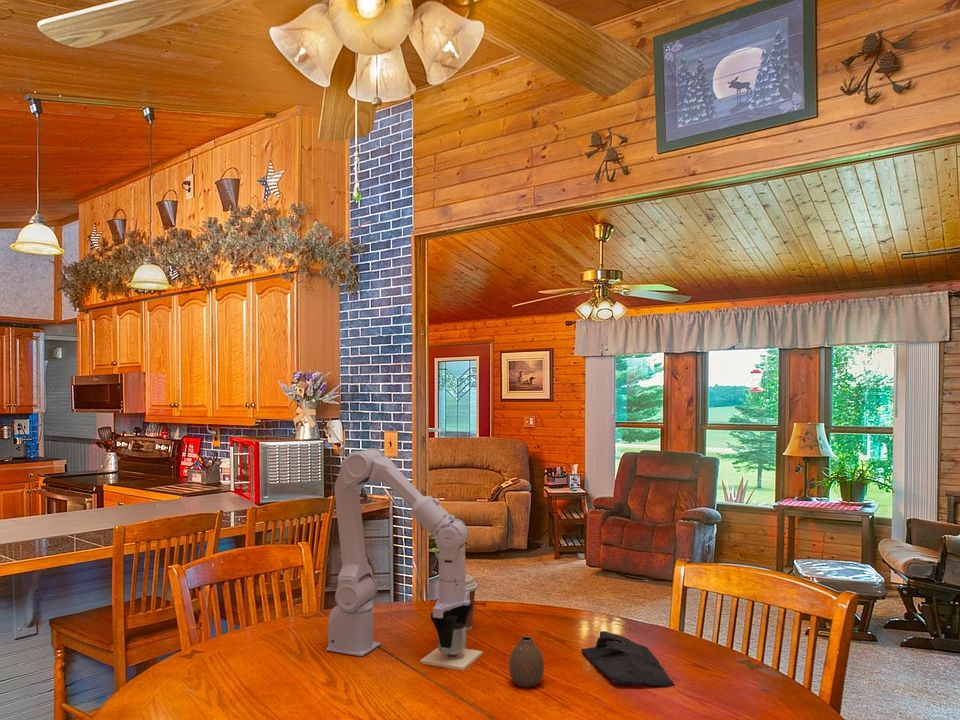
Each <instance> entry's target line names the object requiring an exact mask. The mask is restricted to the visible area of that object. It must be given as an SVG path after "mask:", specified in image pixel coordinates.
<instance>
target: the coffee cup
mask: <svg viewBox="0 0 960 720" xmlns="http://www.w3.org/2000/svg"><path fill="white" fill-rule="evenodd" d="M474 579H475V578H474V576H472V575H470V574H466V573H465V590H466V591H470V603H471V604H472V605H473V607H472V609H471V611H470V613H469V616H468V618H467V622H466V632H469V631H471V630H472V629H473V621H474V607H475V596H476V591H477V590H478V587H479V584H478V582H476V581H475V580H474Z"/></svg>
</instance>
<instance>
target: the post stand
mask: <svg viewBox="0 0 960 720" xmlns="http://www.w3.org/2000/svg"><path fill="white" fill-rule="evenodd" d="M482 655H483V651H482V650H476V649H469V648H466V650H465V651H464V652H463V653H459V654H445V653H441V652H440V651H439V650H438V647H437V648H435V649H434V650H432V651H431V652H429V653H428V654H427V655H425V656H424V657H423V658H421V659H420V662H419V663H420V664H421V663H422V664H421V665H430V666H434V667H440V668H447V669H452V670H458V671H464V670H466V669H467V668H469V666H471V665H472V664H473V663H474V662H475V661H476V660H477V659H478V658H480V657H481V656H482Z"/></svg>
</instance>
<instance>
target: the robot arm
mask: <svg viewBox="0 0 960 720" xmlns="http://www.w3.org/2000/svg"><path fill="white" fill-rule="evenodd" d="M369 482H373V483H380V484H381V483H382V484H385V485H386V486H387V487H389V488H390V489H391V490H392V491H393V492H394V493H395V494H397V495H398V496H399V497H400V498H401V499H402V500H403V501H405V502H406V503H407V505H409V506H410V507H411V513H412V517H413V518H414V519H415V520H416V521H417V522H419V524H421V525H422V527H424V528H425V530H427V531H428V532H429V533H430V535H432V537H434V541H435V542H434V543H435V544H436V546H437V548H438V550H439V551H438V598H437V600H436V603H435V605H434V606H433V608H432V612H431V613H430V620H431V621H432V622H433V624H434V627H435V629H436V633H437V635H438V637H439V641H440V645H441V647H444V648H450V647H451V645H452V638H453V630H454V626H455V622H461V623H463V624H465V625H466V622H467V618H468V616H469V613H470V611H471V609H472V607H473V605H472V604H471V603H470V591H466V590H465V574H466V544H465V543H466V542H467V541H468V538H469V529H468V527H467V525H466V524H465V522H464V520H461V519H457V518H456V516H455V515H454V514H450V513H449V512H448V511H447V510H446V509H445V508H444V507H443V506H442V505H440V502H441V501H440V500H439V499H438V498H437V497H434V498H433V497H432V496H431V495H423V494H422V493H421V492H420V491H419V490H418V489H417V488H416V487H415V486H414V485H413V483H411V482H410V480H409V479H408V478H407V477H406V476H405V474H403V473H402V472H401V470H400V469H399V468H397V466H396V465H395V463H394V462H393V461H392V459H391V458H390V457H388V456H387V455H385V454H384V452H383V451H382V450H381V449H378V448H376V447H370V448H367V449H364V450H360V451H359V450H357V451H352V452H350V453H349V454H348V455H347V456H345V458H344V459H343V460H342V461H340V470H339V473H338V475H337V478H336V480H335V483H334V498H335V509H336V519H337V527H338V528H337V529H338V536H339V538H338V539H339V546H340V555H341V556H340V557H341V558H340V559H341V569H340V571H339V573H338V576H337V587H336V591H335V595H334V598H335V603H336V605H335V606H334V607H333V608H332V609H331V611H330V612H329V616H328V622H327V625H328V626H327V629H328V630H327V647H326V648H325V650H326V651H328V652H334V653H338V654H339V653H340V654H345V655H352V656H356V657H364V656H365V655H366V654H369V653H370V652H371V651H373V650H375V649H376V648H378V647H379V646H381V642H379V641H374V638H373V637H374V603H373V599H374V598H375V596H376V595H377V593H378V582H377V580H376V578H375V576H374V574H373V569H372V566H371V565H370V564H369V563H368V561H367V555H366V554H367V553H366V543H365V536H364V527H363V526H364V525H363V517H362V506H361V497H360V496H361V495H360V492H361V490H362V489H363V488H364V487H365V486H366V484H368V483H369Z"/></svg>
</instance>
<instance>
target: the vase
mask: <svg viewBox="0 0 960 720" xmlns="http://www.w3.org/2000/svg"><path fill="white" fill-rule="evenodd" d="M509 655H510V656H509V660H508V670H509V674H510V677H511V679H512V681H513V682H514V683H515V684H516V685H517V686H518V685H519V687H521V686H522V688H533V687H535V685H536V686H537V685H538V684H539V683H540V682H541V680H542V678H543V675H544V672H545V661H544V656H543V653H542V652H541V650H540V649H539V647H538V645H536V643H535V641H534V639H533V637H532V636H525V635H524V636H521V637H520V639H519V641H518V643H517V644H516V645H515V646H514V648H513V649H512V650H511V653H510V654H509ZM532 686H533V687H532Z"/></svg>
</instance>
